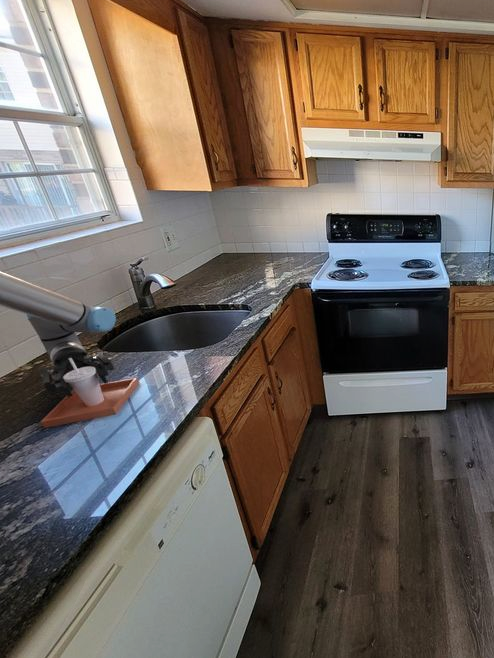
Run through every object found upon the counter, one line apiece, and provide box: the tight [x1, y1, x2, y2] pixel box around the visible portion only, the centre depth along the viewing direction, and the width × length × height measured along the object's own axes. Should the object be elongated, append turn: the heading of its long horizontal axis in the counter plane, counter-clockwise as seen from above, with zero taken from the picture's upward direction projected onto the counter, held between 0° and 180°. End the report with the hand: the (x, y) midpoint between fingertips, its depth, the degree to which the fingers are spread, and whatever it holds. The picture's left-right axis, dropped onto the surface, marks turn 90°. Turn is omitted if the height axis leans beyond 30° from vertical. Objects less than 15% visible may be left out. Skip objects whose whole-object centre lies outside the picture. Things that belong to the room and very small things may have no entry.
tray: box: [40, 377, 140, 429], centre depth 100 cm, size 15×15×2 cm
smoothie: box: [63, 358, 104, 406], centre depth 97 cm, size 6×6×14 cm
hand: (86, 385), depth 94 cm, fingers closed on smoothie, 6 cm apart
